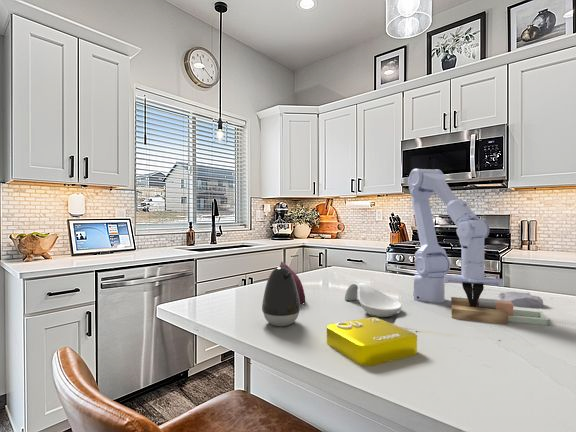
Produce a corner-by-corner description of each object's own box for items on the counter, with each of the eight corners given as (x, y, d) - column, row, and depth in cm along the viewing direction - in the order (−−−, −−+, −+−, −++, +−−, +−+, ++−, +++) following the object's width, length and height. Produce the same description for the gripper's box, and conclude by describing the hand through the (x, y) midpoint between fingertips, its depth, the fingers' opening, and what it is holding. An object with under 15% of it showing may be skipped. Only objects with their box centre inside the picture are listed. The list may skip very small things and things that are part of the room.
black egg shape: (272, 332, 86) (271, 271, 86) (256, 321, 96) (256, 265, 95) (307, 326, 91) (307, 268, 91) (289, 315, 100) (288, 263, 100)
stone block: (511, 316, 105) (548, 311, 103) (507, 300, 105) (544, 295, 103) (496, 307, 117) (528, 302, 115) (492, 293, 117) (525, 288, 115)
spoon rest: (410, 318, 98) (410, 293, 98) (374, 323, 94) (374, 296, 94) (364, 299, 120) (364, 278, 120) (334, 302, 116) (334, 280, 116)
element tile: (363, 369, 67) (363, 344, 67) (323, 343, 80) (323, 322, 80) (421, 355, 73) (421, 332, 73) (375, 333, 87) (374, 314, 87)
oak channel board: (451, 321, 94) (451, 308, 94) (451, 308, 107) (451, 297, 107) (507, 327, 89) (508, 314, 89) (500, 313, 101) (500, 301, 101)
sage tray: (507, 324, 91) (507, 315, 91) (503, 316, 99) (503, 308, 99) (549, 329, 87) (549, 320, 87) (542, 320, 95) (542, 311, 95)
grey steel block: (479, 315, 96) (479, 301, 96) (477, 312, 99) (477, 298, 99) (495, 317, 94) (495, 302, 94) (494, 313, 98) (494, 299, 98)
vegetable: (271, 314, 113) (258, 270, 112) (284, 302, 122) (271, 261, 122) (300, 309, 109) (287, 263, 108) (311, 297, 118) (298, 255, 117)
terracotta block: (495, 317, 94) (495, 302, 94) (494, 313, 98) (494, 299, 98) (513, 319, 92) (513, 304, 92) (510, 315, 96) (510, 300, 96)
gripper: (444, 262, 97) (444, 310, 98) (504, 265, 91) (504, 317, 91) (444, 259, 104) (444, 304, 104) (501, 261, 98) (501, 310, 98)
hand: (472, 310), depth 98 cm, fingers closed
